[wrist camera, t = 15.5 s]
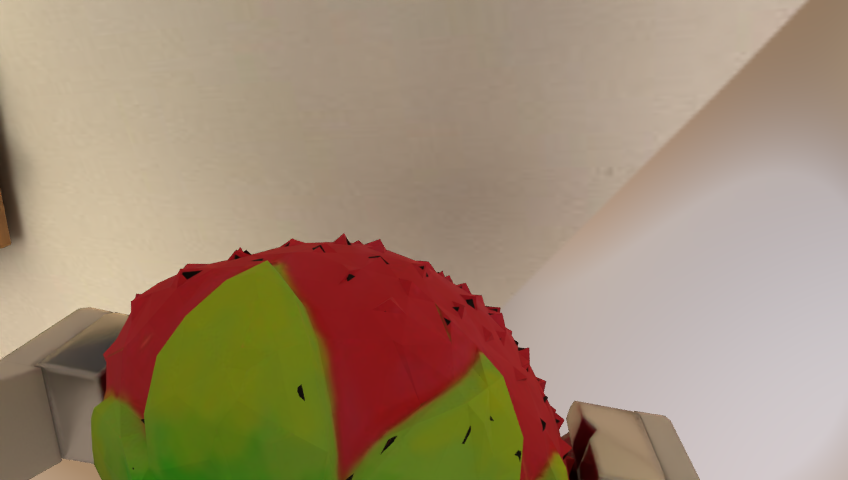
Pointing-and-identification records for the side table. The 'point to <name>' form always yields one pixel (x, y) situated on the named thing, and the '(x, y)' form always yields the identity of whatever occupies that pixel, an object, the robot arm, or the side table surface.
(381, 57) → the side table surface
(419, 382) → the strawberry
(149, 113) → the side table surface
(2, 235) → the wooden drawer
